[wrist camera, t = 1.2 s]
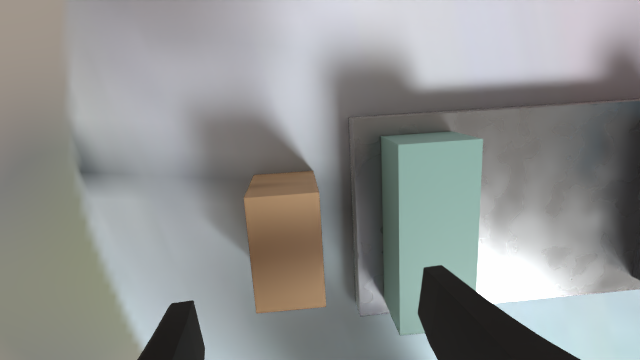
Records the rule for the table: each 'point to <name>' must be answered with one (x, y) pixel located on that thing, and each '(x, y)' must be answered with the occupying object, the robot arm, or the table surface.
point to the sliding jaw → (428, 215)
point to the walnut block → (285, 241)
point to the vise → (523, 198)
